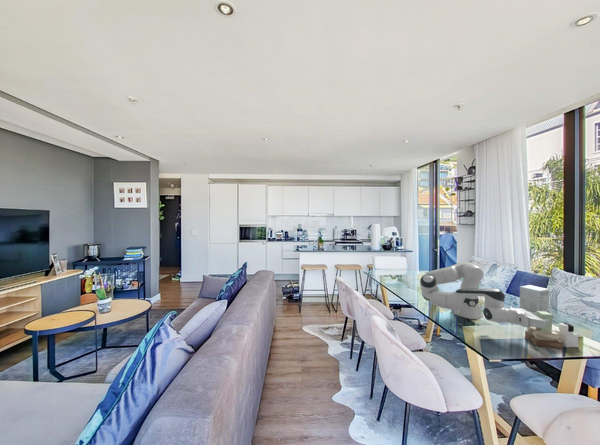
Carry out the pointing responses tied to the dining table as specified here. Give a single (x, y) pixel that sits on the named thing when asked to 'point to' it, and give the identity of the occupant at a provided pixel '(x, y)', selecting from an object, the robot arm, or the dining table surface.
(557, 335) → the tower top
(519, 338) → the dining table surface
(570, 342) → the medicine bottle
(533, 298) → the supplement box
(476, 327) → the dining table surface
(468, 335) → the dining table surface
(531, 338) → the tower base
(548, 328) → the sage block
